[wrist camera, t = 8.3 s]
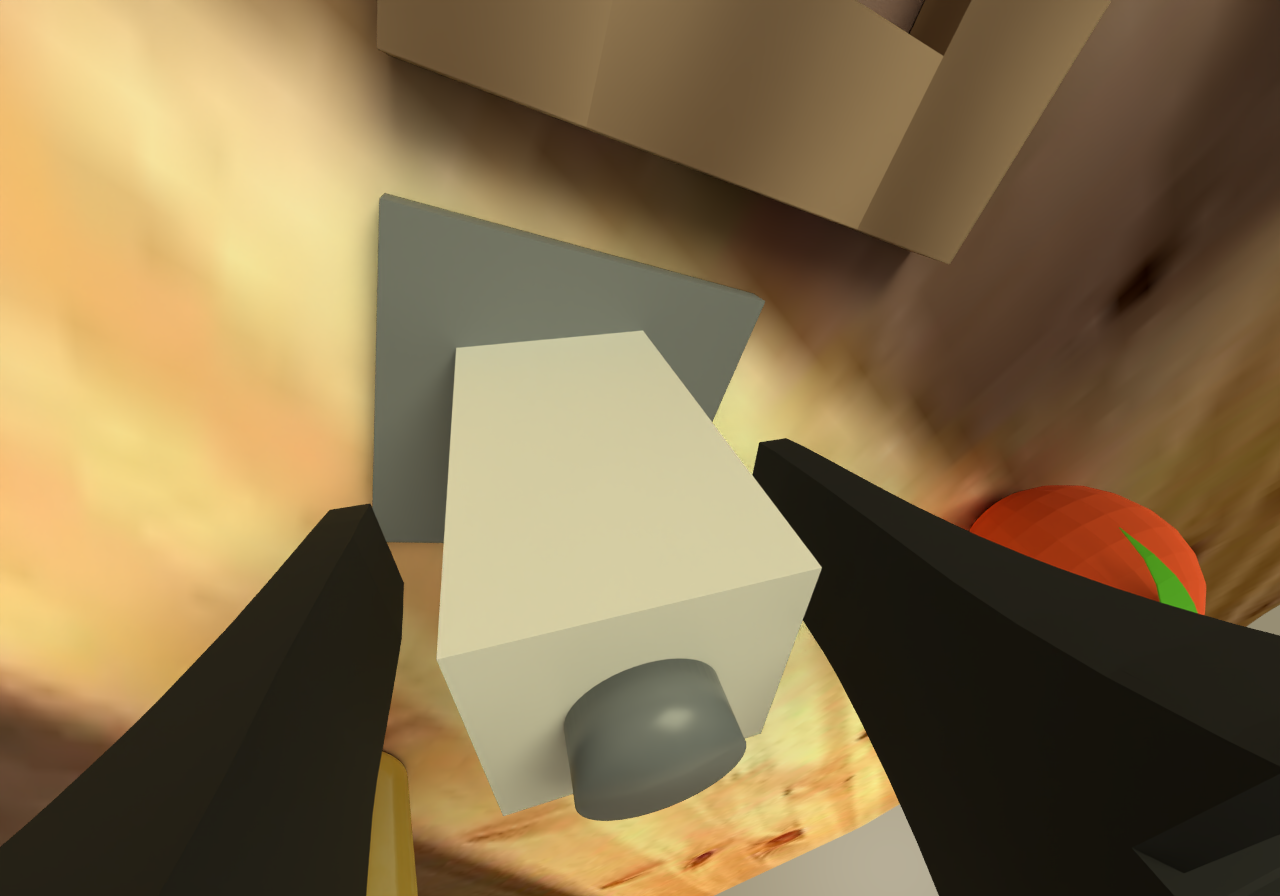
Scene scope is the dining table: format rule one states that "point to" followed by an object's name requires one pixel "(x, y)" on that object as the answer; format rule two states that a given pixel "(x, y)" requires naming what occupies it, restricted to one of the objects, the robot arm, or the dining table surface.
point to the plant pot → (391, 834)
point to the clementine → (1099, 541)
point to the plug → (607, 579)
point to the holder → (779, 91)
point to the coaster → (512, 333)
